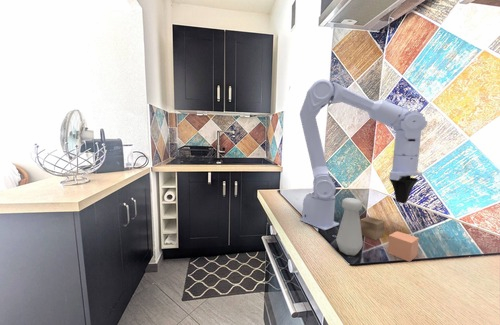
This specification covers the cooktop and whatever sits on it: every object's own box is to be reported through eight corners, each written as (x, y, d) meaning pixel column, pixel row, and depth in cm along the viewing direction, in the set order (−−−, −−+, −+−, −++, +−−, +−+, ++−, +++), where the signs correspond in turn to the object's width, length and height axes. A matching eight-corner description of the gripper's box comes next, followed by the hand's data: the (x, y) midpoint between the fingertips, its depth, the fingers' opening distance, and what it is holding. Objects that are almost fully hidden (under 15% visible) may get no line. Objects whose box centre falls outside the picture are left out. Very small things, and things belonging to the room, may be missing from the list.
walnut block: (359, 234, 60) (360, 219, 60) (366, 230, 63) (368, 216, 62) (375, 240, 56) (377, 224, 56) (383, 236, 59) (384, 221, 58)
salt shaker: (365, 259, 47) (369, 203, 46) (338, 256, 48) (342, 201, 47) (357, 246, 53) (361, 196, 51) (333, 243, 54) (336, 195, 53)
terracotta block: (387, 253, 50) (389, 235, 50) (395, 247, 53) (396, 231, 52) (409, 262, 46) (411, 243, 46) (416, 256, 49) (418, 238, 49)
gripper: (414, 157, 51) (408, 210, 52) (431, 155, 60) (426, 201, 61) (382, 155, 57) (378, 203, 58) (402, 154, 65) (398, 196, 67)
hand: (401, 202), depth 60 cm, fingers closed
